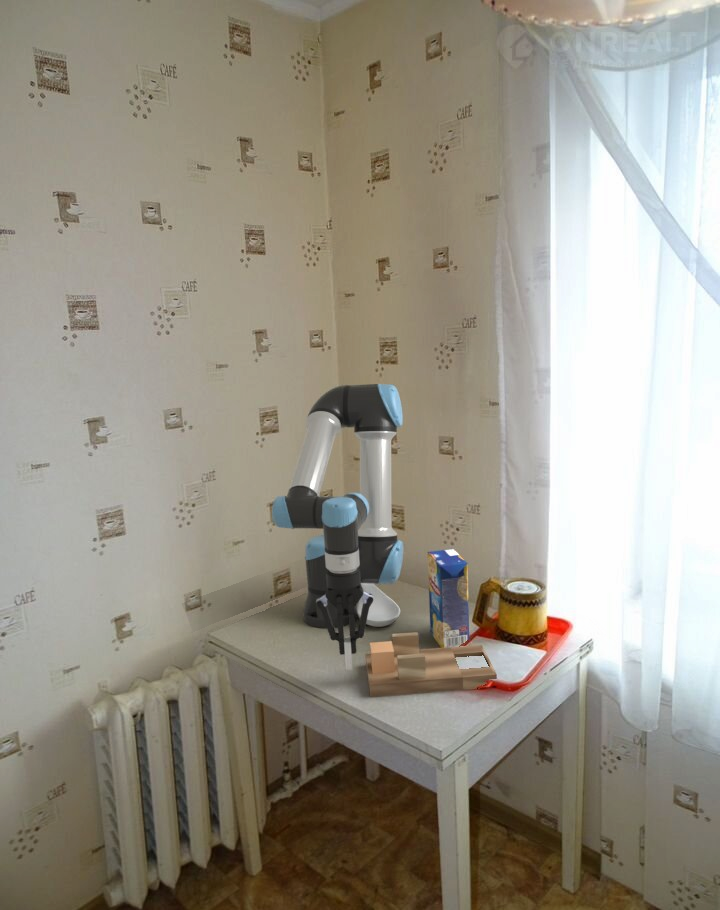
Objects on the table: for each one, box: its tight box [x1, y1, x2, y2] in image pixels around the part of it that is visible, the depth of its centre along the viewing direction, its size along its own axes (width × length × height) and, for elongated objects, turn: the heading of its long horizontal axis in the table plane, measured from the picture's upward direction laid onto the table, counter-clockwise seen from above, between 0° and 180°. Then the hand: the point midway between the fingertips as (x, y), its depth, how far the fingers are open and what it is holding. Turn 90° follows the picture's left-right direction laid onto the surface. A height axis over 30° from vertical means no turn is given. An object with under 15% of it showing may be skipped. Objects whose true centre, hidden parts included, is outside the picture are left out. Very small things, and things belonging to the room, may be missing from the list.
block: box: [369, 640, 395, 674], centre depth 153 cm, size 5×5×5 cm
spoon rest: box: [357, 583, 401, 628], centre depth 189 cm, size 24×12×7 cm, turn 16°
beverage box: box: [427, 548, 470, 648], centre depth 170 cm, size 7×11×22 cm, turn 11°
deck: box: [365, 631, 498, 698], centre depth 154 cm, size 14×28×8 cm, turn 93°
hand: (348, 666), depth 153 cm, fingers closed
